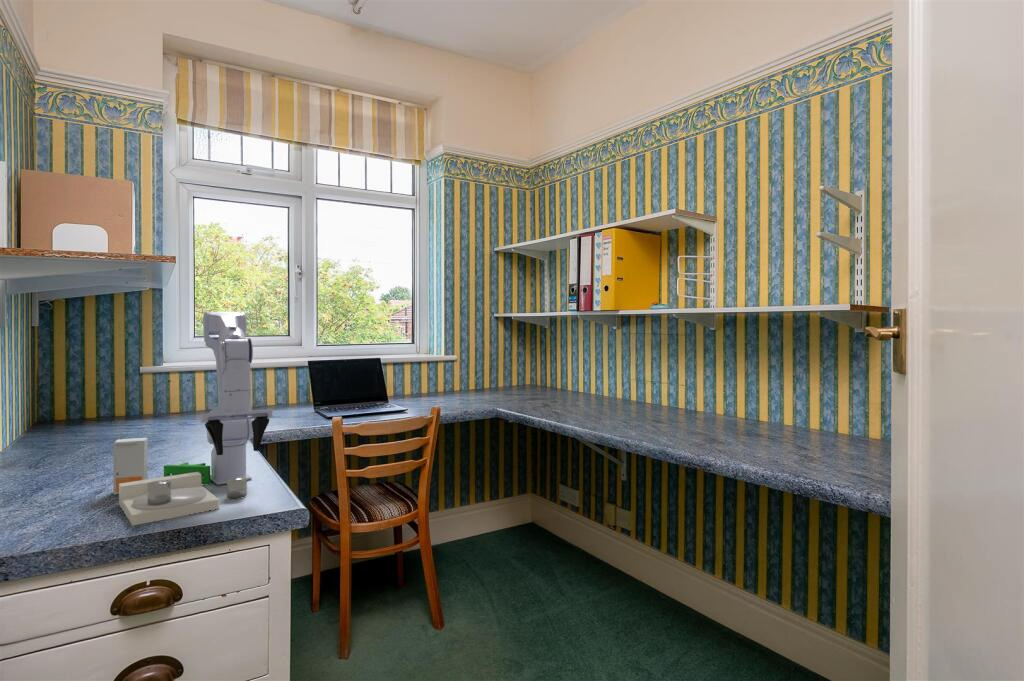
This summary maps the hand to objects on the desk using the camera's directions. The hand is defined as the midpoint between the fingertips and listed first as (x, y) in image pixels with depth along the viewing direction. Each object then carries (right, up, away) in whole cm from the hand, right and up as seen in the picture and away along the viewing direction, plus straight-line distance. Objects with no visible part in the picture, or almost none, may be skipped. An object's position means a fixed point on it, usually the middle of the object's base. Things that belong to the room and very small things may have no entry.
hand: (238, 452), depth 124 cm
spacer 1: (-10, -7, -12) cm, 18 cm away
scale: (-11, -10, -7) cm, 17 cm away
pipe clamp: (-18, -10, +12) cm, 24 cm away
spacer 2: (-1, -10, +1) cm, 10 cm away
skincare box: (-27, -10, +4) cm, 29 cm away
